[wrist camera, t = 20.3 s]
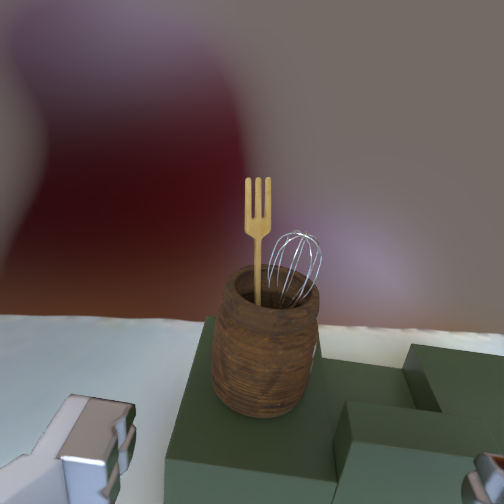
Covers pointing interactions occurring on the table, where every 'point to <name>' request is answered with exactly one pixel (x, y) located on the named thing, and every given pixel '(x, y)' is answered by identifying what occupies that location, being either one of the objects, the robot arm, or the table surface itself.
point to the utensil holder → (265, 327)
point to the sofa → (341, 433)
